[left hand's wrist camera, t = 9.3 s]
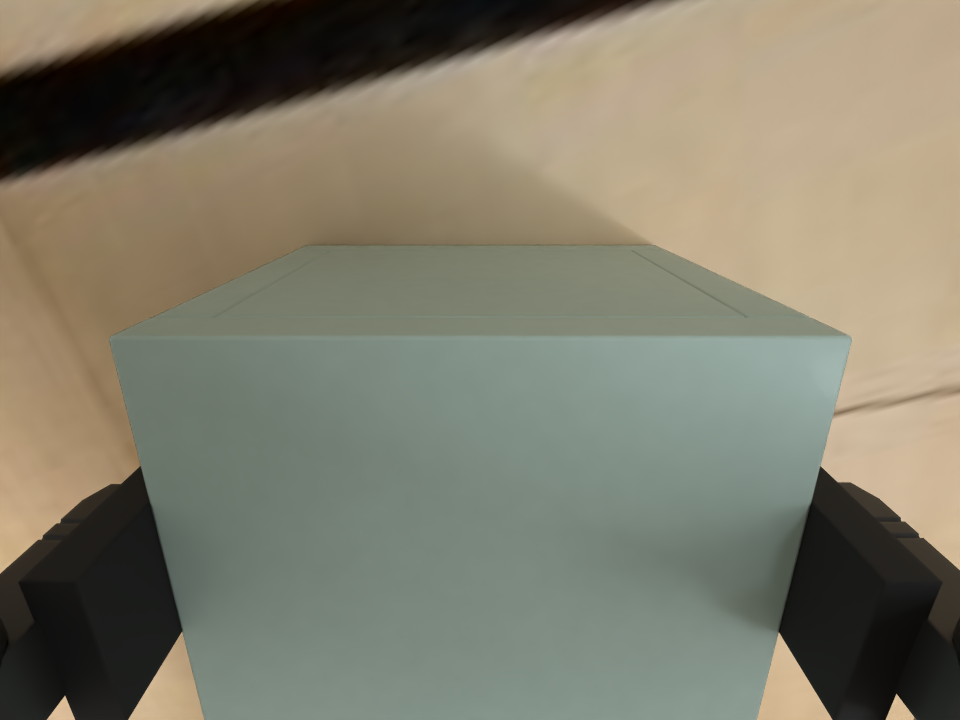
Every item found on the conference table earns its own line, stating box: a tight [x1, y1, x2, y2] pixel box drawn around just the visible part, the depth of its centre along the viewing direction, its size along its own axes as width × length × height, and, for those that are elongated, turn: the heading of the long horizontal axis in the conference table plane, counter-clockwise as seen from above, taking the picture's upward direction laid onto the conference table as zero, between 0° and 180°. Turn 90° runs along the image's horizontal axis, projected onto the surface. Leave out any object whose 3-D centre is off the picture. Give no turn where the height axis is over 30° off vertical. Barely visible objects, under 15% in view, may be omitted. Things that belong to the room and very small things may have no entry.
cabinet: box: [109, 245, 852, 720], centre depth 16 cm, size 22×11×9 cm, turn 0°
